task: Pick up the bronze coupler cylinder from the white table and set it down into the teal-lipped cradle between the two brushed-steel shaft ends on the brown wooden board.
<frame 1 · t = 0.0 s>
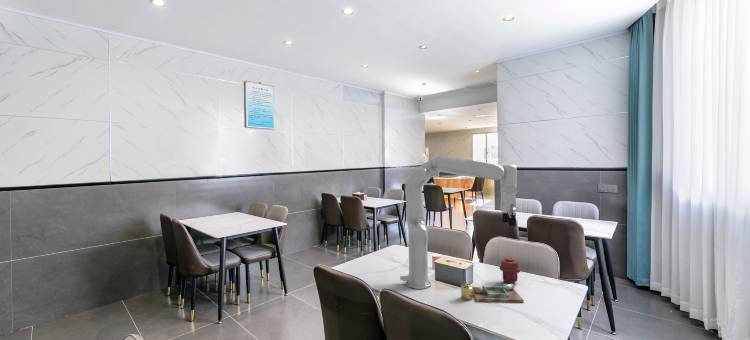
hand: (508, 224, 159), 31 cm above the table, fingers open, 9 cm apart
coupler: (466, 298, 146), on the table
shaft b: (508, 292, 152), resting on brown wooden board
brown wooden board: (495, 295, 149), on the table
mechanical component: (510, 283, 165), on the table
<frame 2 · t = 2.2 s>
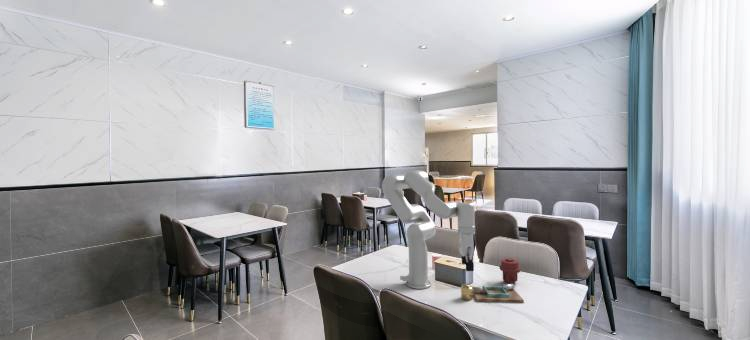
hand: (467, 267, 145), 14 cm above the table, fingers open, 9 cm apart
nothing on the table moved.
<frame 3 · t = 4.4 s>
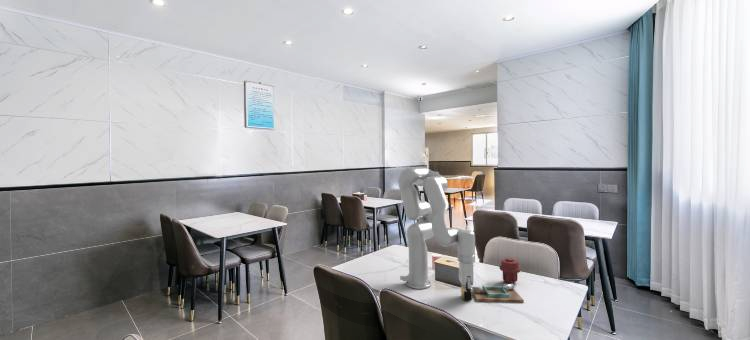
hand: (466, 297, 146), 1 cm above the table, fingers closed on coupler, 4 cm apart
coupler: (466, 298, 146), on the table, touching gripper
everything else where it was.
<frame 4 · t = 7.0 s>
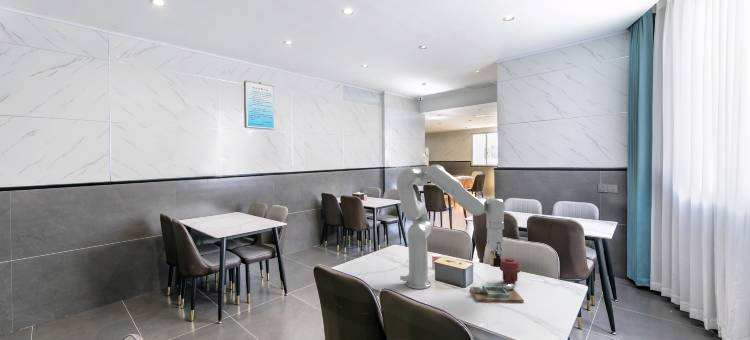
hand: (495, 264, 149), 15 cm above the table, fingers closed on coupler, 4 cm apart
coupler: (495, 265, 149), point 14 cm above the table, touching gripper
everything else where it was.
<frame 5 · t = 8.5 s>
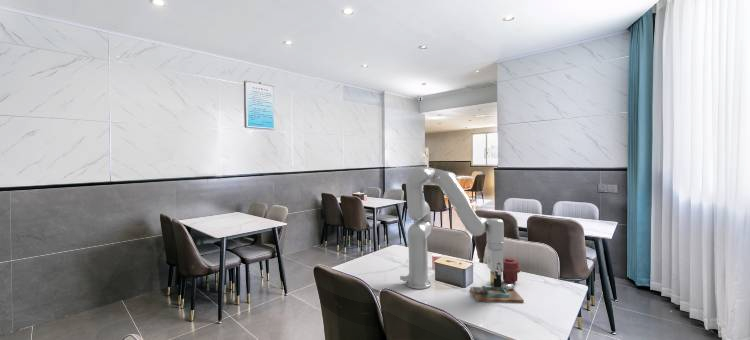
hand: (495, 284, 149), 5 cm above the table, fingers closed on coupler, 4 cm apart
coupler: (496, 285, 149), point 5 cm above the table, touching gripper
everything else where it was.
when the fingers open (4 cm above the table, at t = 9.6 s): coupler drops 2 cm, resting on brown wooden board.
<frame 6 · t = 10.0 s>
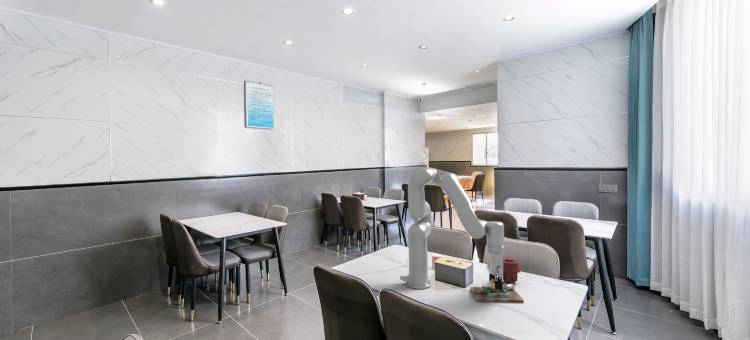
hand: (495, 285, 149), 5 cm above the table, fingers open, 8 cm apart
coupler: (495, 292, 149), point 1 cm above the table, touching brown wooden board
everything else where it was.
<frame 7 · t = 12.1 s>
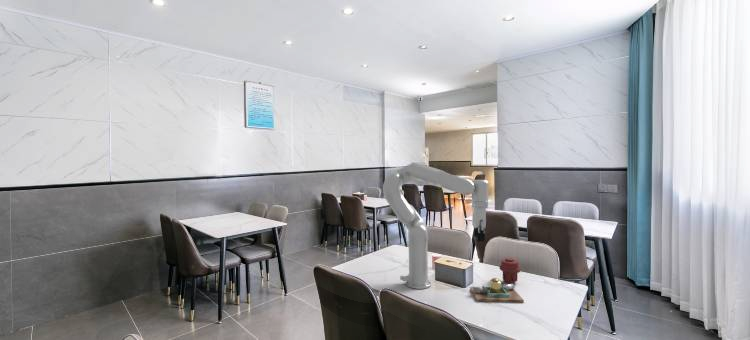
hand: (479, 238, 160), 24 cm above the table, fingers open, 9 cm apart
nothing on the table moved.
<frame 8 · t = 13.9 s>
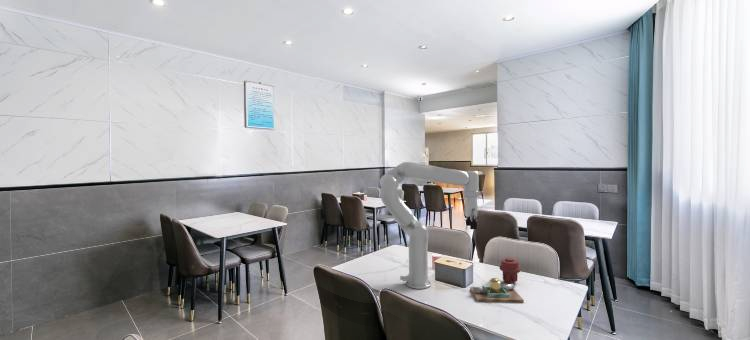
hand: (471, 227, 167), 28 cm above the table, fingers open, 9 cm apart
nothing on the table moved.
at the end: coupler 0.2 cm off-centre on the brown wooden board, point 1.3 cm above the brown wooden board's base; coupler tilted 2°; the gripper is holding nothing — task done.
